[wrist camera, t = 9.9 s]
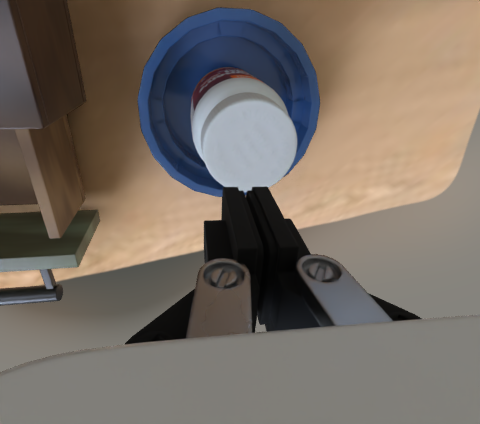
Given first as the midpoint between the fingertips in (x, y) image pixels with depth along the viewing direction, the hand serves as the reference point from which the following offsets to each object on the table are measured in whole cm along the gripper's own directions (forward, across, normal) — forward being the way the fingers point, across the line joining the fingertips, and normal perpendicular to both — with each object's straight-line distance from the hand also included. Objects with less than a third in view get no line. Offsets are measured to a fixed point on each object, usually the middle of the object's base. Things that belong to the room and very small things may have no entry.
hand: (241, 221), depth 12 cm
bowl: (+17, -1, -1) cm, 17 cm away
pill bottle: (+17, -1, -1) cm, 17 cm away
